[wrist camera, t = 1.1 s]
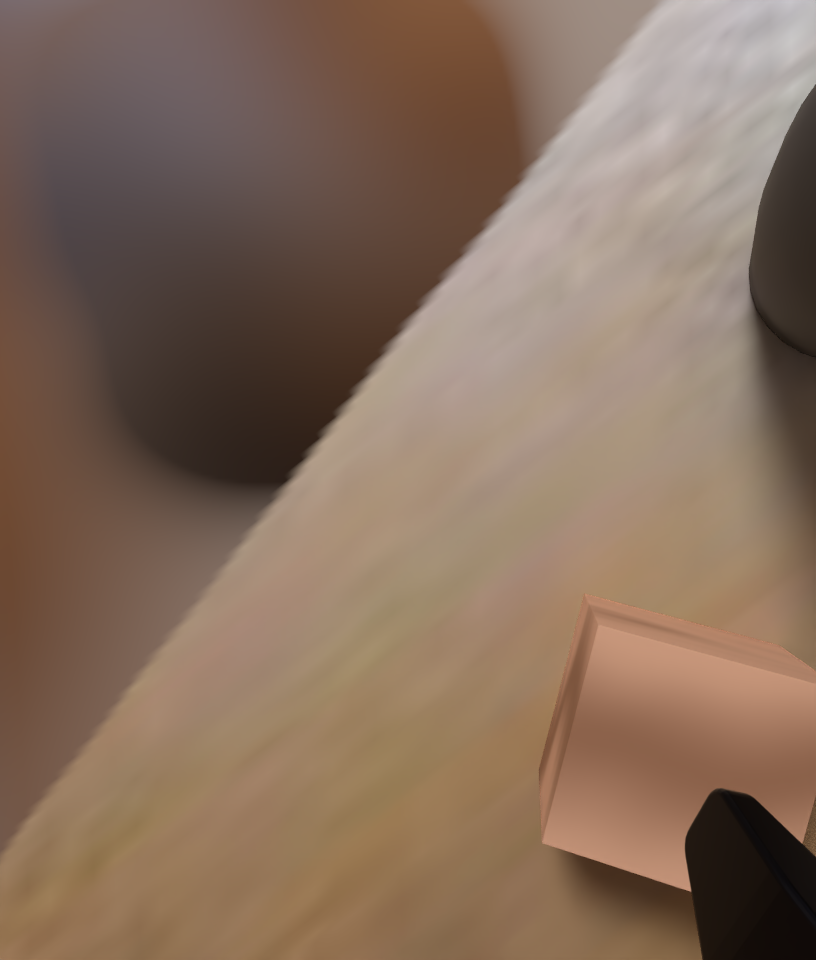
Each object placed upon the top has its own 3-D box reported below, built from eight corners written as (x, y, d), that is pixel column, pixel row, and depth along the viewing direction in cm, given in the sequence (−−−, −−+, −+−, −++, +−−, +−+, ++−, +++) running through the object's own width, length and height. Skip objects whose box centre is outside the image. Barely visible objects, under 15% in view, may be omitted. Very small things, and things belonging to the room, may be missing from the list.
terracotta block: (727, 826, 21) (780, 920, 17) (538, 767, 22) (541, 843, 18) (777, 644, 21) (845, 691, 16) (583, 592, 22) (598, 624, 17)
